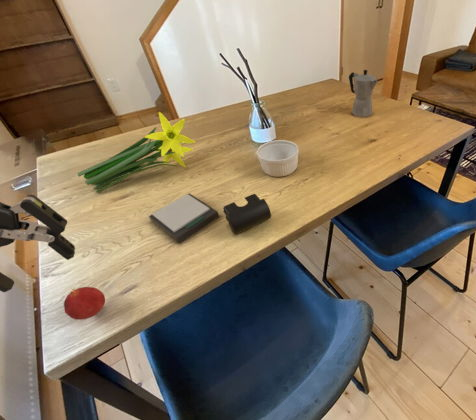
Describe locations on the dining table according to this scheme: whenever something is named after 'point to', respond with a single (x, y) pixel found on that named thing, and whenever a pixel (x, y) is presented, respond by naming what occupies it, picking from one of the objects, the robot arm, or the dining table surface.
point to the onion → (84, 302)
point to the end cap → (247, 213)
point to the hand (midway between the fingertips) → (42, 271)
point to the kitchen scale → (184, 217)
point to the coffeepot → (362, 93)
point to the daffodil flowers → (140, 155)
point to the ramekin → (278, 157)
